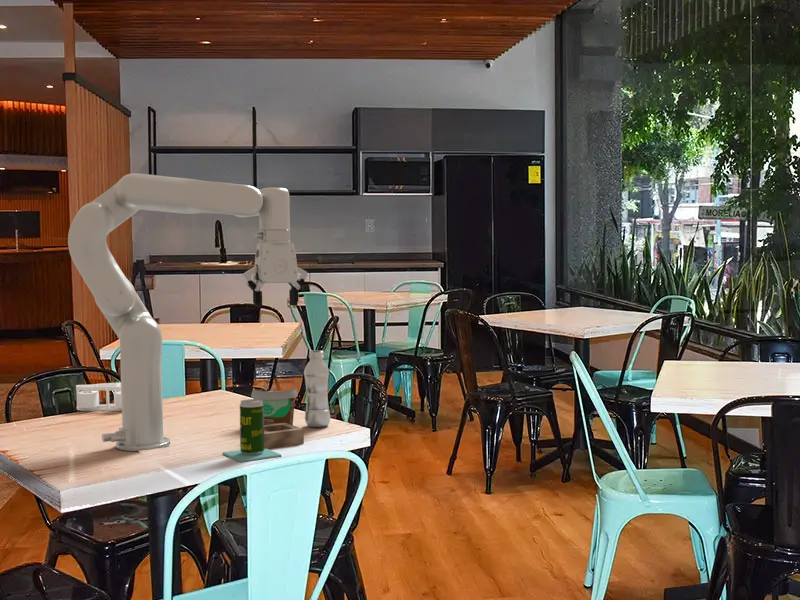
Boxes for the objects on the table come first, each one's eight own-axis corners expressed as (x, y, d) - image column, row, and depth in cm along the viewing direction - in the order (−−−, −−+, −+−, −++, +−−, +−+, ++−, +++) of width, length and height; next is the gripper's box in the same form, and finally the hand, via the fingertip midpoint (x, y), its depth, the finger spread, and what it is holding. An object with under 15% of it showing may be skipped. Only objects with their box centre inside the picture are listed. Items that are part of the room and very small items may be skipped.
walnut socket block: (265, 448, 225) (265, 433, 225) (248, 441, 233) (247, 427, 233) (303, 443, 230) (303, 429, 230) (285, 436, 239) (285, 422, 238)
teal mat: (240, 462, 211) (240, 460, 211) (222, 454, 220) (222, 452, 220) (281, 456, 217) (281, 454, 217) (262, 448, 225) (262, 446, 225)
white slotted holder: (69, 413, 275) (68, 388, 275) (85, 406, 286) (84, 382, 286) (137, 413, 274) (137, 388, 273) (150, 407, 285) (150, 382, 284)
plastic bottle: (334, 427, 249) (333, 351, 248) (310, 430, 246) (309, 353, 245) (324, 423, 255) (323, 349, 254) (300, 426, 252) (299, 350, 250)
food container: (245, 430, 248) (244, 391, 247) (252, 425, 254) (252, 387, 253) (291, 431, 246) (291, 392, 245) (298, 426, 252) (297, 388, 251)
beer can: (251, 449, 222) (250, 398, 221) (269, 452, 219) (268, 400, 218) (235, 454, 218) (234, 401, 217) (253, 456, 215) (252, 403, 214)
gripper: (248, 237, 231) (250, 308, 232) (312, 237, 241) (313, 305, 242) (236, 237, 238) (237, 307, 239) (299, 237, 247) (300, 303, 248)
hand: (276, 306), depth 240 cm, fingers open, 9 cm apart
